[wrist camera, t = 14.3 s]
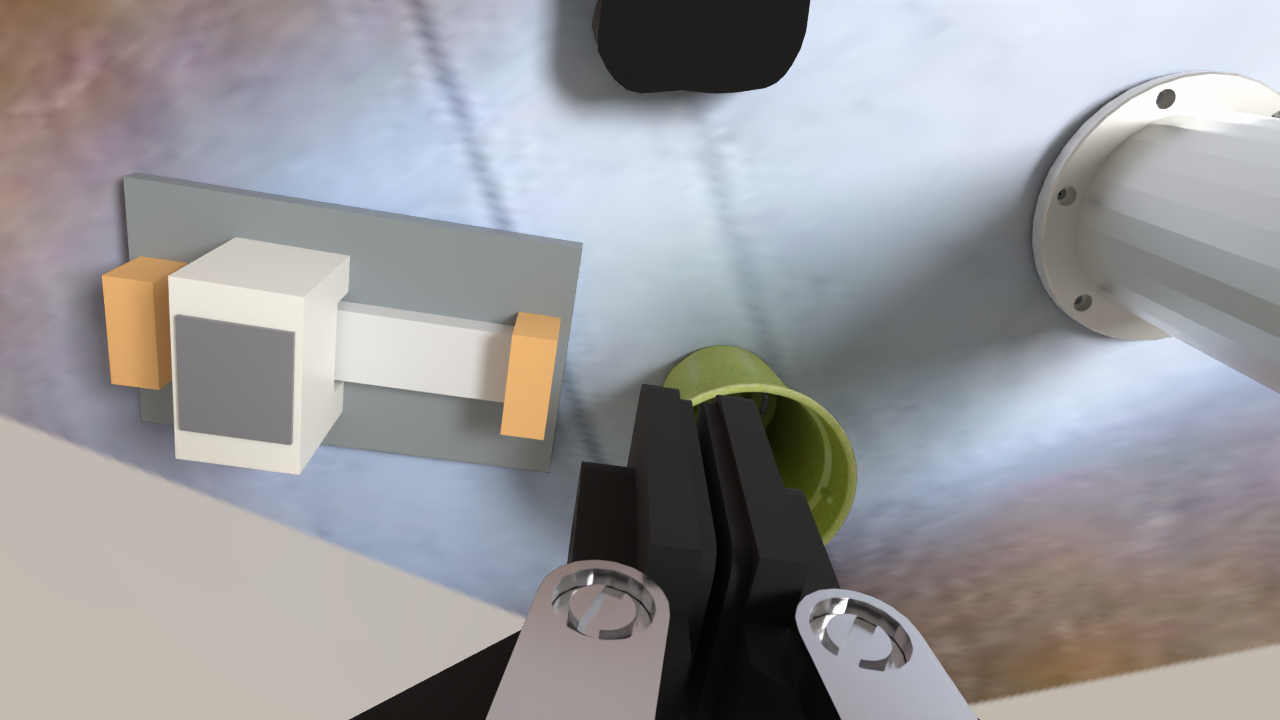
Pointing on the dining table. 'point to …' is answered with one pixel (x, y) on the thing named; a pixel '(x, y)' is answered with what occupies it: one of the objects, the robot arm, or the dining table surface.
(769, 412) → the plant pot
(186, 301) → the block
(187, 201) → the rail board
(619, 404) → the dining table surface
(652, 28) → the black sponge
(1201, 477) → the dining table surface
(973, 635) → the dining table surface
